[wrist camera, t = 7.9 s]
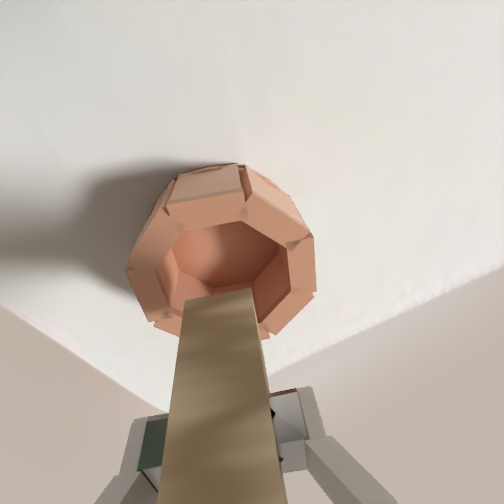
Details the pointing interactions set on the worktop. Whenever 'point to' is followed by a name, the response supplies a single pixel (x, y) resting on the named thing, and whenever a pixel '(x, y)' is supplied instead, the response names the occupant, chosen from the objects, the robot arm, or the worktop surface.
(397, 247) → the worktop surface
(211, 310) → the tan wooden post
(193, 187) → the terracotta polygonal bowl
